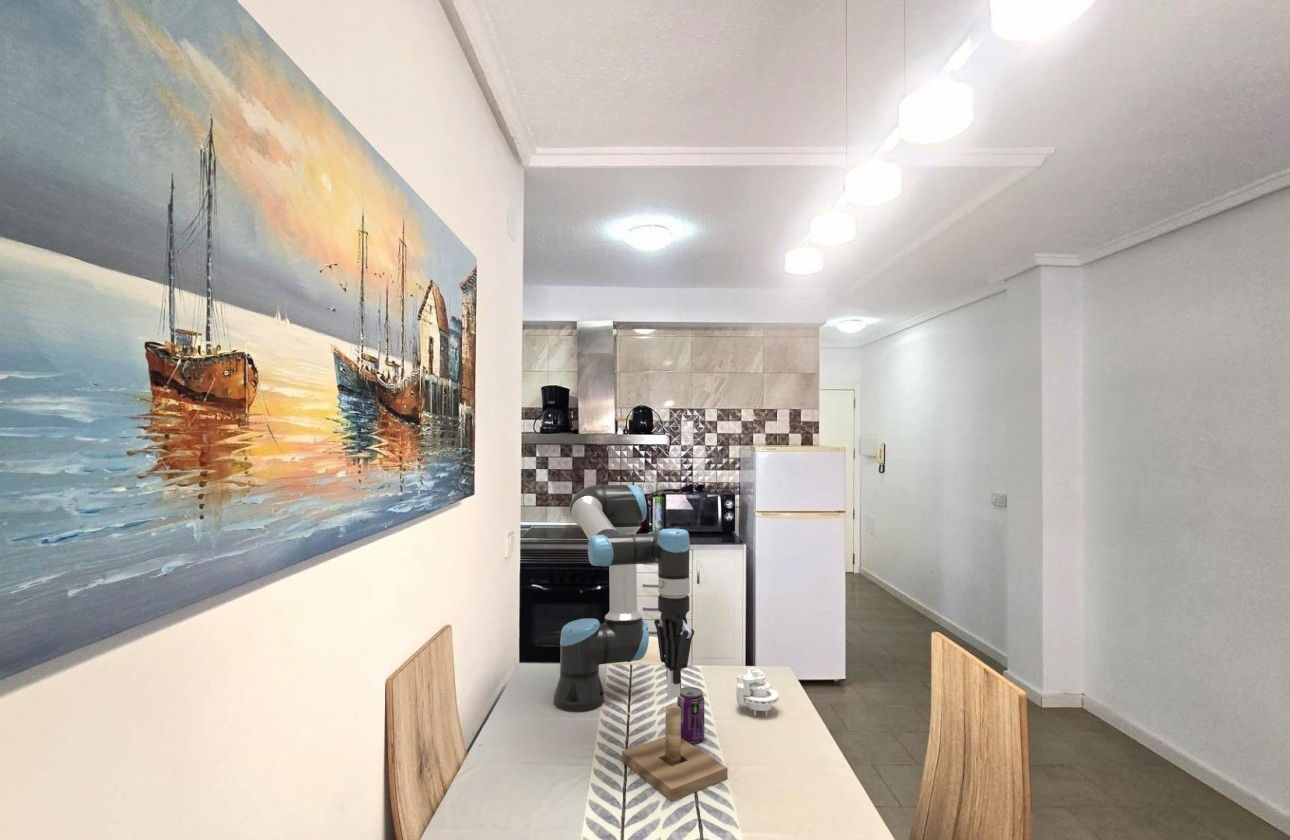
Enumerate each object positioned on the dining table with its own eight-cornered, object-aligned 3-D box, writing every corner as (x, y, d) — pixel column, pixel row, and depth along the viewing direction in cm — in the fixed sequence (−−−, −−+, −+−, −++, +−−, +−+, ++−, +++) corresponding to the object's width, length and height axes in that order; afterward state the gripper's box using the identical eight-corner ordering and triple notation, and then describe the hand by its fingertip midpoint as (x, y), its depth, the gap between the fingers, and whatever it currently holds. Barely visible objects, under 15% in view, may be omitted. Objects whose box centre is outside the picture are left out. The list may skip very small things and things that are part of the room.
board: (621, 761, 142) (621, 750, 142) (674, 743, 151) (674, 733, 151) (671, 801, 125) (671, 789, 125) (727, 778, 134) (727, 767, 134)
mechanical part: (776, 722, 163) (776, 679, 164) (733, 716, 167) (733, 673, 168) (780, 706, 174) (780, 665, 175) (740, 701, 178) (739, 661, 179)
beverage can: (702, 746, 150) (702, 697, 150) (675, 743, 151) (675, 695, 152) (705, 733, 157) (705, 687, 157) (679, 731, 158) (679, 685, 159)
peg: (661, 768, 139) (662, 707, 140) (674, 764, 141) (674, 704, 142) (671, 775, 135) (671, 713, 136) (684, 771, 138) (684, 709, 139)
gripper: (645, 591, 144) (645, 690, 142) (677, 602, 133) (677, 709, 132) (670, 588, 148) (669, 684, 147) (703, 598, 138) (703, 702, 136)
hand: (673, 696), depth 139 cm, fingers closed
